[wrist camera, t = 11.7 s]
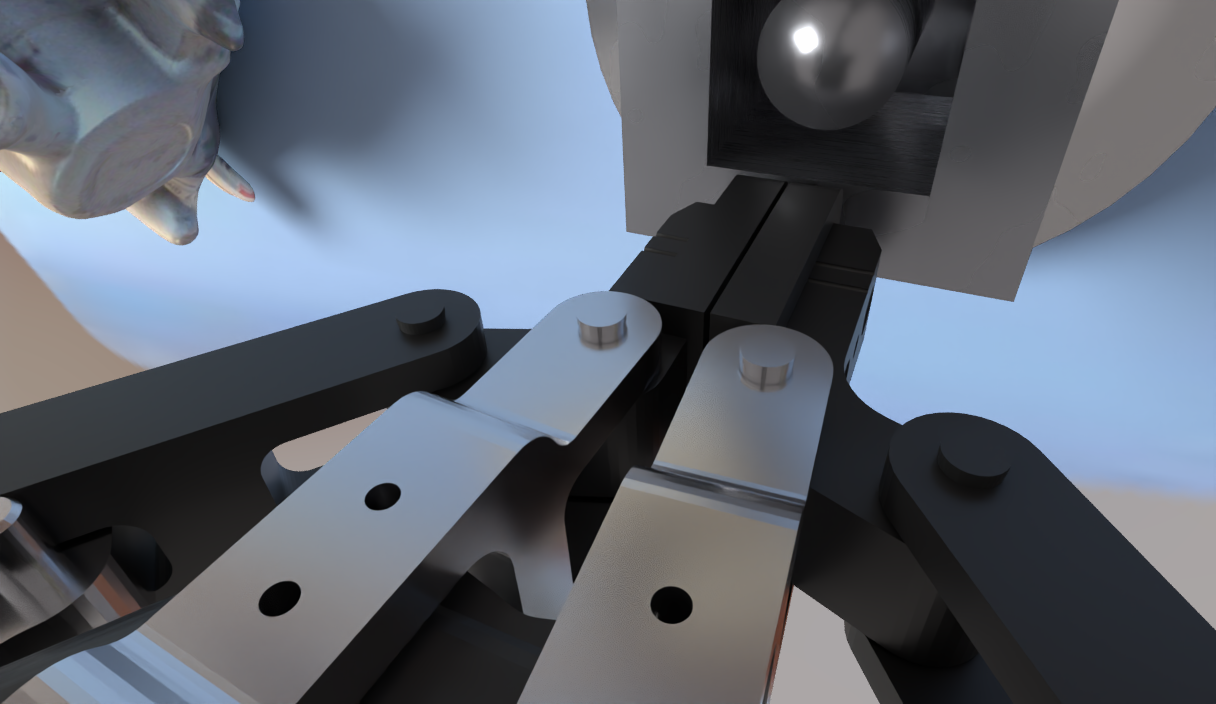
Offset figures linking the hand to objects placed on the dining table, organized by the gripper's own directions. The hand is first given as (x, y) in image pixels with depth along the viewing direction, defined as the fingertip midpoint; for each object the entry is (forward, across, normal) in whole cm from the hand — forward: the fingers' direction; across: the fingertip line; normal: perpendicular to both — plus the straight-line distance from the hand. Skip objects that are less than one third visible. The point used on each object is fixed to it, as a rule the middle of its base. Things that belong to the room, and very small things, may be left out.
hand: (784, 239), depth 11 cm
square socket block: (+4, 0, -2) cm, 5 cm away
